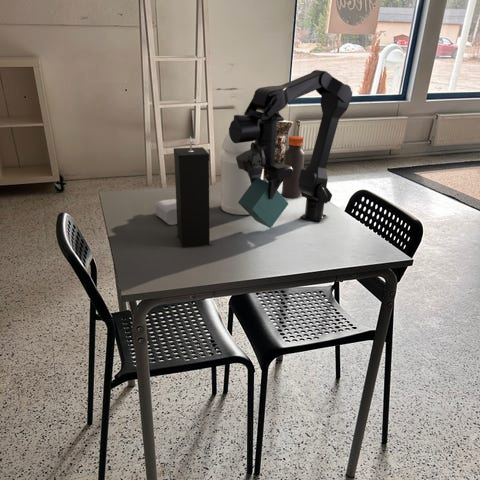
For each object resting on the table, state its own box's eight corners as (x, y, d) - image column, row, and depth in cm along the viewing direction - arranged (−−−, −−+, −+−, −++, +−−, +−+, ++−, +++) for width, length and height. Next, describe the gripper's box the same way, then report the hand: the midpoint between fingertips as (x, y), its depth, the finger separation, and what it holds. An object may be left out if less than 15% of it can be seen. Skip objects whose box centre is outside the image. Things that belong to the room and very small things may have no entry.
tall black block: (182, 247, 136) (177, 141, 121) (177, 236, 143) (172, 135, 128) (209, 245, 138) (209, 140, 123) (204, 234, 144) (202, 134, 130)
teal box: (274, 197, 150) (256, 177, 143) (288, 203, 146) (271, 183, 138) (256, 221, 151) (237, 202, 143) (270, 228, 146) (252, 209, 138)
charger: (174, 206, 165) (195, 220, 154) (148, 210, 161) (167, 225, 150) (173, 192, 162) (194, 205, 152) (147, 196, 158) (167, 210, 147)
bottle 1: (212, 206, 166) (211, 117, 151) (244, 199, 173) (247, 113, 159) (237, 218, 157) (239, 125, 142) (270, 210, 164) (276, 120, 149)
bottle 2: (288, 199, 175) (293, 140, 164) (278, 194, 180) (282, 136, 169) (304, 197, 178) (310, 138, 167) (293, 191, 183) (298, 134, 172)
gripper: (221, 135, 137) (221, 191, 145) (262, 149, 124) (259, 209, 133) (254, 132, 143) (252, 185, 151) (296, 144, 130) (291, 202, 138)
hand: (262, 195), depth 143 cm, fingers closed on teal box, 7 cm apart
